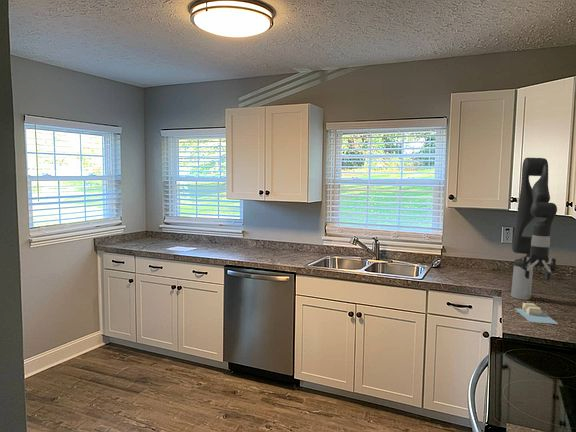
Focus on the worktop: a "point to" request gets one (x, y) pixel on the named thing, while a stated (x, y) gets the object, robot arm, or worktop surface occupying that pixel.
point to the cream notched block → (531, 309)
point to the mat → (536, 317)
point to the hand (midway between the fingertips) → (536, 279)
